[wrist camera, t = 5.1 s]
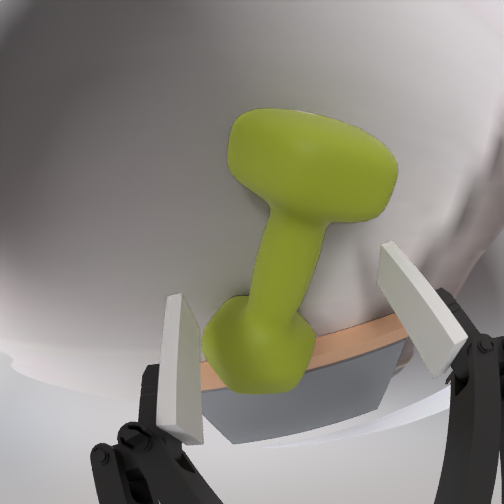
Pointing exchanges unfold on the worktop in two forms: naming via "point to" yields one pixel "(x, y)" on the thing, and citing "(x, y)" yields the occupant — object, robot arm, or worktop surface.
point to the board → (305, 398)
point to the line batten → (335, 346)
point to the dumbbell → (291, 236)
